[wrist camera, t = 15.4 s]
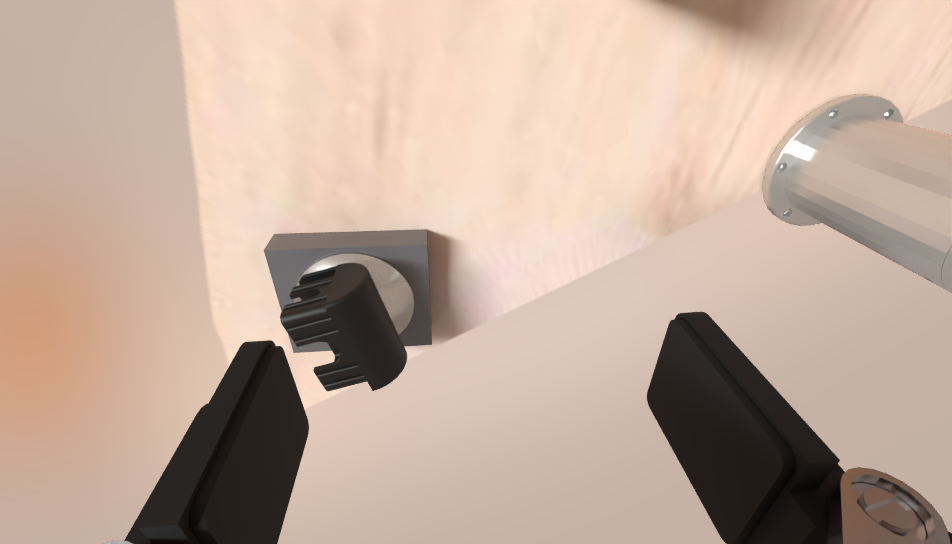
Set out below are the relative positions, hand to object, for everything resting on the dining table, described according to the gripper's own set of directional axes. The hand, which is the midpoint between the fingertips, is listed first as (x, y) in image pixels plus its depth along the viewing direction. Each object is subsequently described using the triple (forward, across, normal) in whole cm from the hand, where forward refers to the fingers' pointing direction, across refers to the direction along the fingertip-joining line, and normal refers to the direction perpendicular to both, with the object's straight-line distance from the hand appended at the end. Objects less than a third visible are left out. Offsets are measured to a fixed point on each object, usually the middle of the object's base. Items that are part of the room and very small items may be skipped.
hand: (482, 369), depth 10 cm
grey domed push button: (+28, +10, +16) cm, 34 cm away
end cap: (+25, +9, +16) cm, 31 cm away
